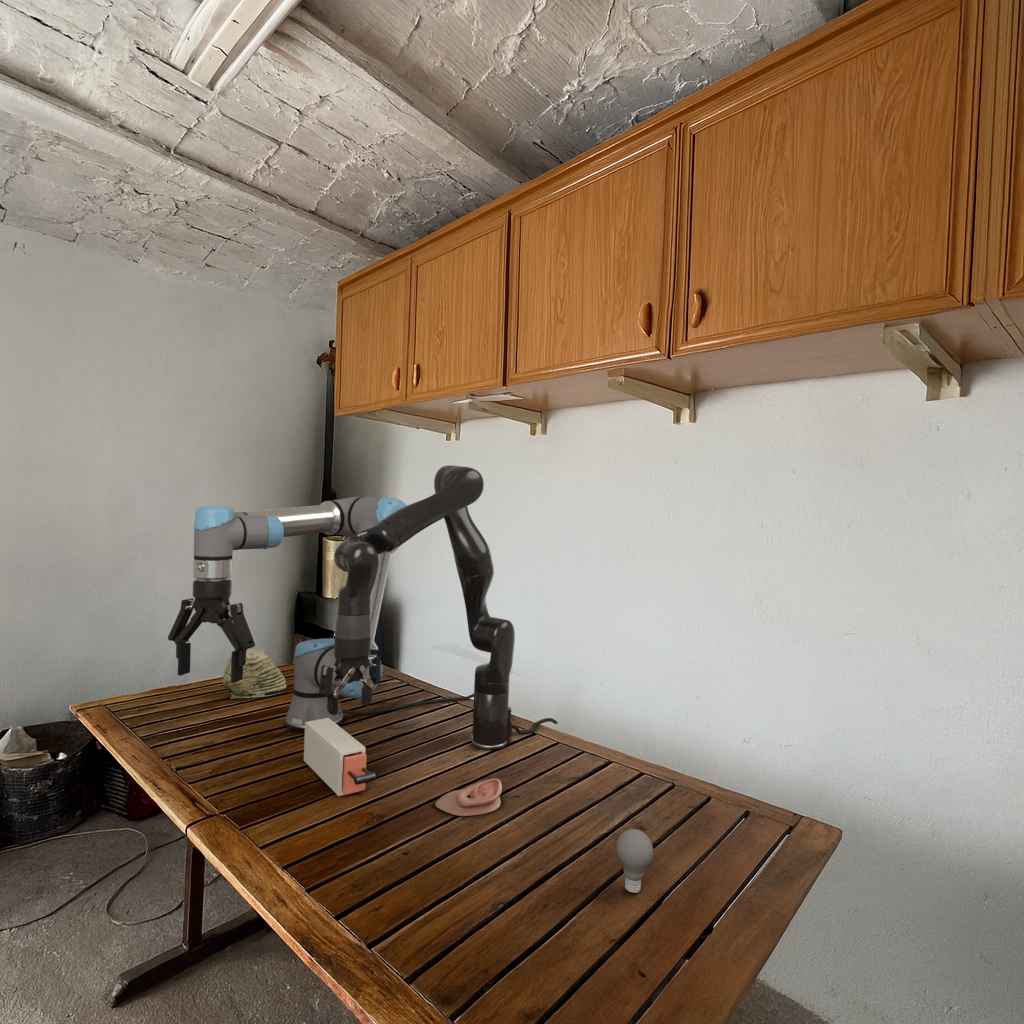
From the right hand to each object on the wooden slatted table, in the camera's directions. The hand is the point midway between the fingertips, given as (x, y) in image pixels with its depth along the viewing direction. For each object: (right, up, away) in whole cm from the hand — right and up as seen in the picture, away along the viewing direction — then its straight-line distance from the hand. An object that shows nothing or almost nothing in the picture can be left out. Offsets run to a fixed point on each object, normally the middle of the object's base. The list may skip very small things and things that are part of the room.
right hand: (349, 709), depth 135 cm
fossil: (-46, -15, +63) cm, 79 cm away
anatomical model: (+26, -19, -2) cm, 32 cm away
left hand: (-30, +7, +1) cm, 31 cm away
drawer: (-3, -17, +5) cm, 18 cm away
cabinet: (-6, -18, +9) cm, 21 cm away
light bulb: (+55, -21, -30) cm, 66 cm away
